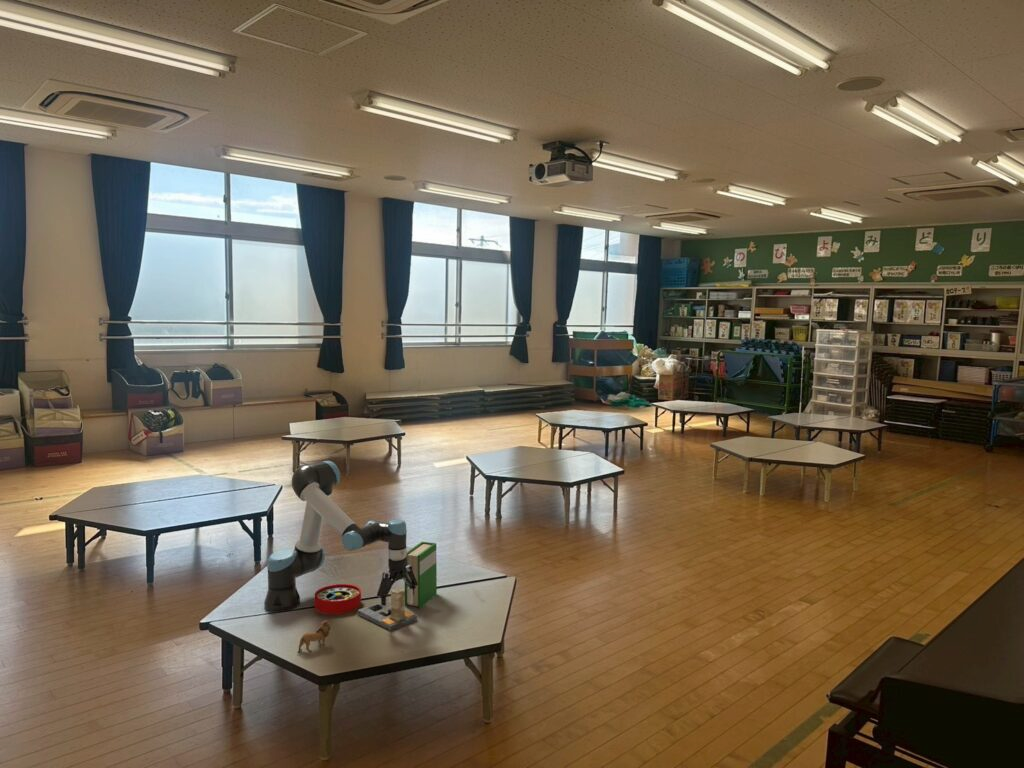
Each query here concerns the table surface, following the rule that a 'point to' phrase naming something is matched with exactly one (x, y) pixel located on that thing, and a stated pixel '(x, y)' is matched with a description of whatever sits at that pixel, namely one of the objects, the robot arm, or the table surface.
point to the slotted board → (385, 621)
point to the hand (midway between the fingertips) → (397, 607)
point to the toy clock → (337, 599)
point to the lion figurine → (316, 636)
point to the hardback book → (422, 572)
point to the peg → (397, 604)
